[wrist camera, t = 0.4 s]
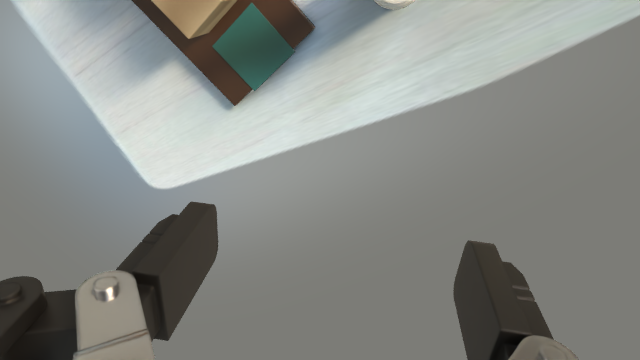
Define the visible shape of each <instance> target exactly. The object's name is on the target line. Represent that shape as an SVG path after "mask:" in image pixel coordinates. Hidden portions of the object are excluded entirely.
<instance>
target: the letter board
mask: <svg viewBox="0 0 640 360" xmlns="http://www.w3.org/2000/svg"><path fill="white" fill-rule="evenodd" d="M132 1H133V2H134V3H135V4H136V5H137V6H138V7H139V8H140V9H141V10H142V11H143V12H144V13H145V14H146V15H147V16H148V17H149V18H150V20H151V21H152V22H153V23H154V24H155V25H156V26H157V27H158V28H159V29H160V30H161V31H162V32H163V33H164V34H165V35H166V36H167V37H168V38H169V39H170V40H171V41H172V42H173V43H174V44H175V45H176V46H177V47H178V48H179V49H180V50H181V51H182V52H183V53H184V54H185V55H186V56H187V57H188V58H189V59H190V60H191V62H192V63H193V64H194V65H195V66H196V67H197V68H198V69H199V70H200V71H201V72H202V73H203V74H204V75H205V76H206V77H207V78H208V79H209V80H210V81H211V82H212V83H213V84H214V85H215V86H216V87H217V88H218V89H219V90H220V91H221V92H222V93H223V94H224V95H225V96H226V97H227V98H228V99H229V100H230V101H231V102H232V104H233V105H234V106H236V105H237V104H238V103H239V102H240V101H241V100H242V99H243V98H244V97H245V96H246V95H247V94H248V93H249V92H250V91H251V90H252V89H253V90H254V91H255V90H256V89H257V88H258V87H260V86H261V85H262V84H263V83H264V82H265V81H266V80H267V79H268V78H269V77H270V76H271V75H272V74H273V73H274V72H275V71H276V70H277V69H278V68H279V67H280V66H281V65H282V64H283V63H284V62H285V61H286V60H287V59H288V58H289V57H290V56H291V55H292V54H293V53H294V52H295V51H294V50H293V49H294V48H295V47H296V46H297V45H298V44H299V43H300V42H301V41H302V40H303V39H304V38H305V37H306V36H307V35H308V34H309V33H310V32H311V31H312V30H313V29H314V28H315V26H314V25H313V24H312V23H311V21H310V20H309V19H308V18H307V17H306V16H305V14H304V13H303V12H302V11H301V10H300V9H299V7H298V6H297V5H296V4H295V3H294V2H293V0H132Z"/></svg>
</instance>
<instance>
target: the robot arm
mask: <svg viewBox="0 0 640 360" xmlns="http://www.w3.org/2000/svg"><path fill="white" fill-rule="evenodd" d="M217 251H218V231H217V212H216V207H215V205H213V204H206V203H198V202H190V203H189V204H188V205H187V207H185V209H184V210H183V211H182V212H181V213H180V215H175V214H172V215H170V216H169V217H167V218H165V219H163V220H162V221H160V222H159V223H157V225H156V226H155V227H154V228H153V229H152V230H151V231H150V234H148V235H147V236H146V237H145V238H144V239H143V240H142V242H140V243H139V245H138V246H137V247H136V248H135V249H134V250H133V251H132V252H131V253H130V255H129V256H128V257H127V258H126V259H125V260H124V261H123V262H122V263H121V265H120V266H119V267H118V268H117V269H116V270H112V271H106V272H102V273H99V274H96V275H94V276H92V277H90V278H88V279H87V280H85V281H84V282H83V283H82V284H81V285H80V286H79V287H78V289H76V290H66V291H55V292H44V290H43V286H42V284H41V282H40V281H39V280H38V279H36V278H33V277H27V276H26V277H25V276H22V277H14V278H9V279H6V280H3V281H0V360H156V359H155V355H154V351H153V347H152V341H153V339H160V340H166V341H168V340H169V338H170V337H171V335H172V333H173V332H174V330H175V328H176V326H177V324H178V323H179V321H180V320H181V318H182V316H183V315H184V313H185V311H186V309H187V308H188V306H189V304H190V303H191V301H192V299H193V297H194V296H195V294H196V292H197V291H198V289H199V287H200V285H201V284H202V282H203V280H204V278H205V277H206V275H207V273H208V272H209V270H210V268H211V266H212V265H213V263H214V261H215V258H216V255H217ZM534 300H535V299H534V297H533V295H532V293H531V291H529V286H528V284H527V282H526V280H525V278H524V276H523V274H522V273H521V272H520V271H519V270H517V269H516V267H514V266H513V265H512V264H511V263H509V262H502V260H501V258H500V256H499V253H498V251H497V248H496V246H495V245H494V244H491V243H483V242H476V241H467V243H466V245H465V247H464V251H463V254H462V257H461V261H460V264H459V268H458V271H457V274H456V277H455V282H454V301H455V306H456V309H457V314H458V319H459V323H460V328H461V332H462V337H463V341H464V345H465V350H466V354H467V359H468V360H579V358H578V357H577V356H576V355H575V354H574V353H573V352H572V351H571V350H570V349H568V348H567V347H566V346H564V345H562V344H561V343H559V342H557V341H555V340H554V339H553V337H552V335H551V333H550V331H549V328H548V326H547V324H546V322H545V320H544V318H543V316H542V314H541V311H540V309H539V307H538V305H537V303H536V302H535V301H534Z"/></svg>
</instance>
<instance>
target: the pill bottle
mask: <svg viewBox="0 0 640 360" xmlns="http://www.w3.org/2000/svg"><path fill="white" fill-rule="evenodd" d="M374 1H375V2H376V3H377V4H378V5H380V6H381V7H383V8H386V9H401V8H404V7H406V6H408V5H410V4H411V3H413V2H414V1H415V0H374Z"/></svg>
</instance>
